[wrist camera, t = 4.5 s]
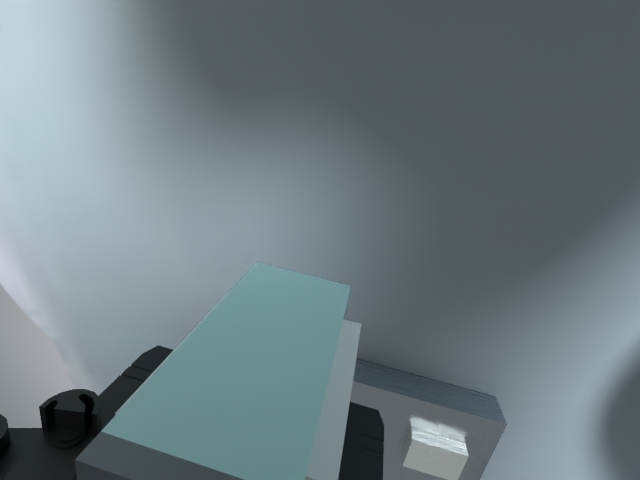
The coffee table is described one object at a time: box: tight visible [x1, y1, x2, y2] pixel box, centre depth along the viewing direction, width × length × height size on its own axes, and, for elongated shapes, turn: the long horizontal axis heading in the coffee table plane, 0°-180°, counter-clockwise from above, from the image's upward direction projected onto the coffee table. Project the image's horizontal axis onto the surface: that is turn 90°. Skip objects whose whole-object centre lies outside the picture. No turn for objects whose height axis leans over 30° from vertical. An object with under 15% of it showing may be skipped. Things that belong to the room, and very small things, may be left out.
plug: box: [75, 262, 351, 480], centre depth 11 cm, size 5×4×9 cm
